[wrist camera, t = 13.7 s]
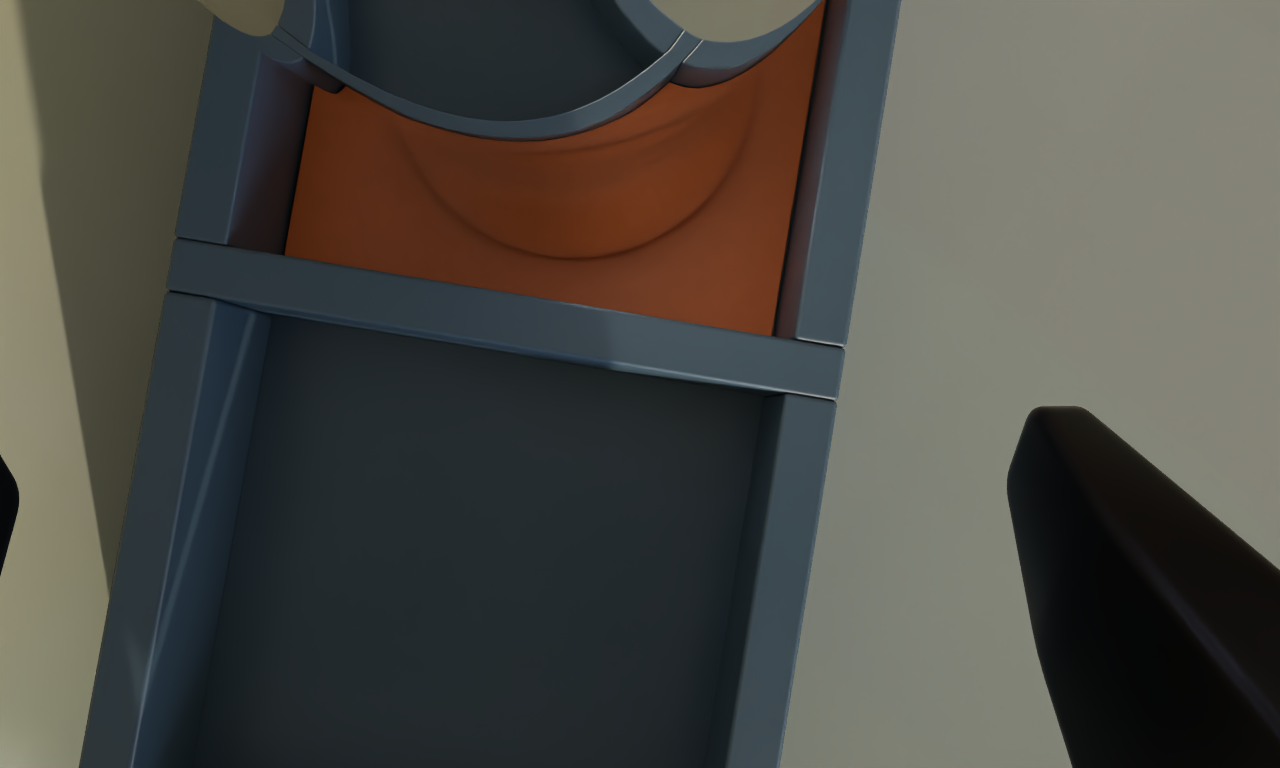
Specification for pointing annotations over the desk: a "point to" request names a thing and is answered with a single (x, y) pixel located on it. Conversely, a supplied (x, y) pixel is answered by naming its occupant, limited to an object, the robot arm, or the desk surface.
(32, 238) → the desk surface
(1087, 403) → the desk surface
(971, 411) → the desk surface
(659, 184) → the beer glass
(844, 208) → the divided tray
